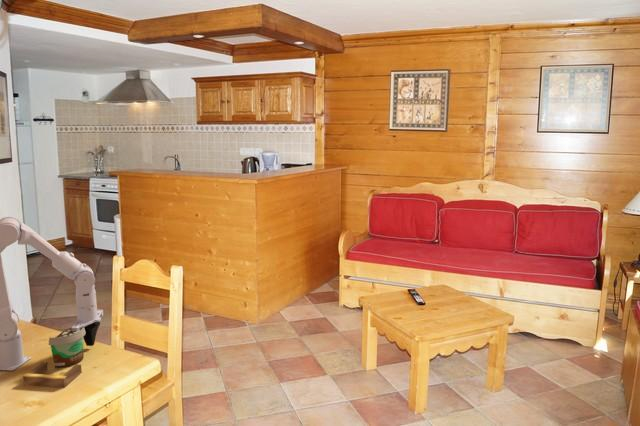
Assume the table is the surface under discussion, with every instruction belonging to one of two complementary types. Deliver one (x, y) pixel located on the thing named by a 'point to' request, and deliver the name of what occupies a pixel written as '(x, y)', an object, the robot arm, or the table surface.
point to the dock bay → (50, 376)
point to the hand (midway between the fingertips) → (90, 345)
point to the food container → (67, 348)
